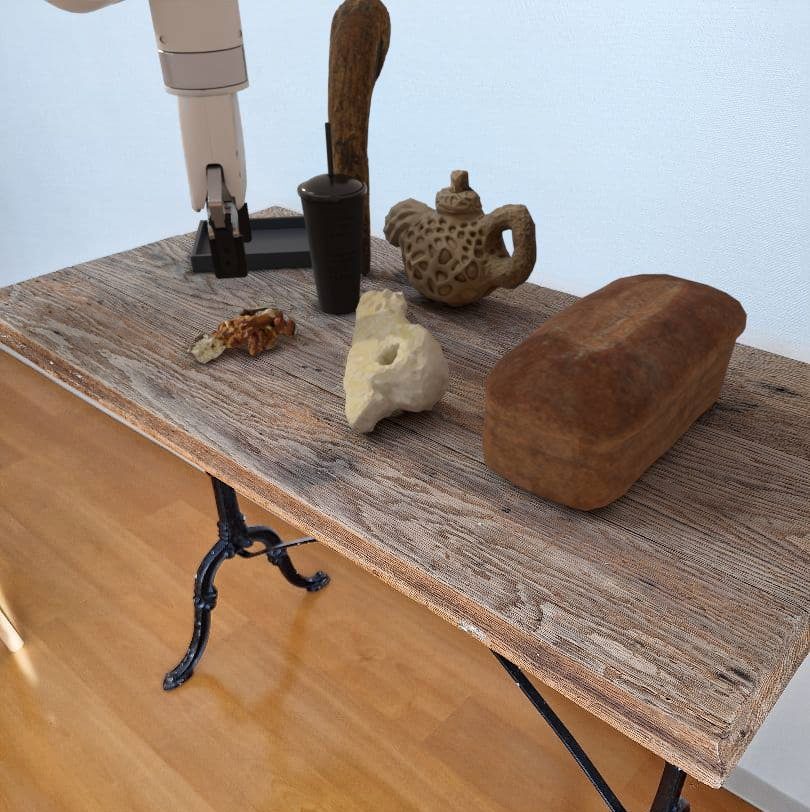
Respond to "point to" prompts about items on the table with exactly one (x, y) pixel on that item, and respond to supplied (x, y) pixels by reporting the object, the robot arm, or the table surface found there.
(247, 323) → the taco
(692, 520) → the table surface
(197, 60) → the robot arm
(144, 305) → the table surface
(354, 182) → the drinking cup
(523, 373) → the bread
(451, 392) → the table surface
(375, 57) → the sculpture
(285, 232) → the serving tray
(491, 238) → the teapot
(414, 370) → the cheese
